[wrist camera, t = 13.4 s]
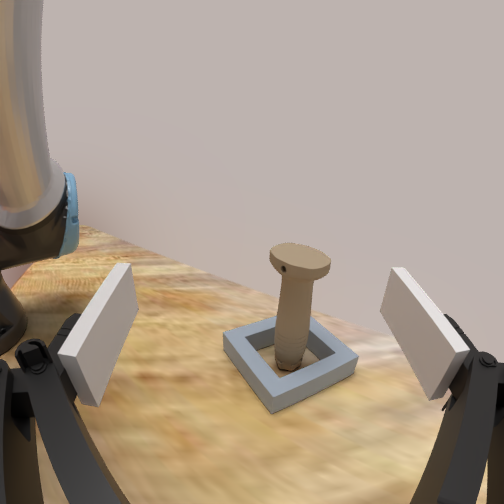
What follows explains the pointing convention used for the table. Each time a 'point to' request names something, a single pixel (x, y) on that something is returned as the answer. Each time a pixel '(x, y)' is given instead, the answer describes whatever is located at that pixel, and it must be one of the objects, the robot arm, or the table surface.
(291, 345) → the handle
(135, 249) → the table surface
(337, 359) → the socket block
